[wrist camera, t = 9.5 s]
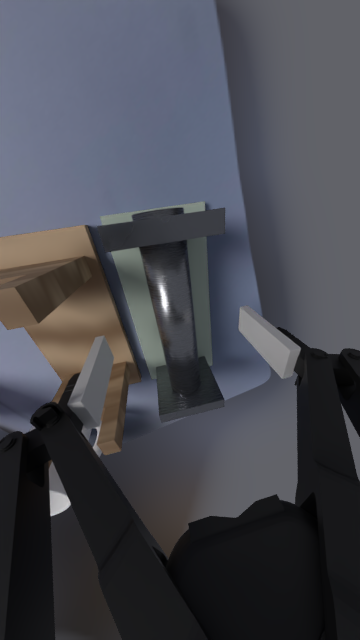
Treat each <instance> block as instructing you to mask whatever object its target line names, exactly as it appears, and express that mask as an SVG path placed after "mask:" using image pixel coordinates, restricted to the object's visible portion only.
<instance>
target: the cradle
mask: <svg viewBox="0 0 360 640" xmlns="http://www.w3.org/2000/svg"><path fill="white" fill-rule="evenodd" d="M0 321H1V322H2V323H3V325H4V326H5V327H6V329H7V330H10V329H15V328H21V327H24V328H25V330H26V331H27V332H28V334H29V335H30V337H31V338H32V339H33V341H34V342H35V344H36V345H37V346H38V348H39V349H40V351H41V352H42V353H43V355H44V356H45V358H46V359H47V361H48V362H49V363H50V365H51V366H52V368H53V369H54V370H55V372H56V373H57V375H58V376H59V377H60V379H61V380H62V384H61V386H60V387H59V389H58V391H57V393H56V395H55V397H54V398H53V400H52V402H56V403H57V404H58V402H59V400H60V398H61V396H62V394H63V393H64V390H65V388H66V385H67V383H68V381H69V380H70V378H71V377H72V376H73V375H74V374H77V373H81V371H82V368H83V366H84V363H85V361H86V359H87V356H88V354H89V352H90V349H91V347H92V345H93V342H94V340H95V337H99V336H105V338H106V340H107V343H108V345H109V347H110V349H111V352H112V354H113V356H114V361H113V365H112V370H111V375H110V379H109V384H108V388H107V393H106V397H105V402H104V406H103V411H102V416H101V420H100V421H102V424H101V428H100V432H99V437H98V441H97V446H98V447H99V448H100V450H101V451H102V452H103V453H104V455H108V454H111V453H115V452H119V451H121V448H122V439H123V430H124V421H125V412H126V403H127V395H128V386H129V384H133V383H138V382H141V374H140V371H139V369H138V366H137V363H136V360H135V357H134V355H133V352H132V349H131V346H130V343H129V341H128V338H127V335H126V332H125V329H124V327H123V324H122V321H121V318H120V315H119V313H118V310H117V307H116V304H115V301H114V299H113V296H112V293H111V290H110V287H109V285H108V282H107V279H106V276H105V273H104V270H103V268H102V265H101V262H100V259H99V256H98V254H97V251H96V248H95V245H94V242H93V240H92V237H91V234H90V231H89V228H88V226H87V225H81V226H75V227H68V228H61V229H54V230H47V231H40V232H34V233H27V234H20V235H13V236H6V237H0ZM48 462H49V468H50V465H51V463H52V460H50V461H48Z"/></svg>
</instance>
